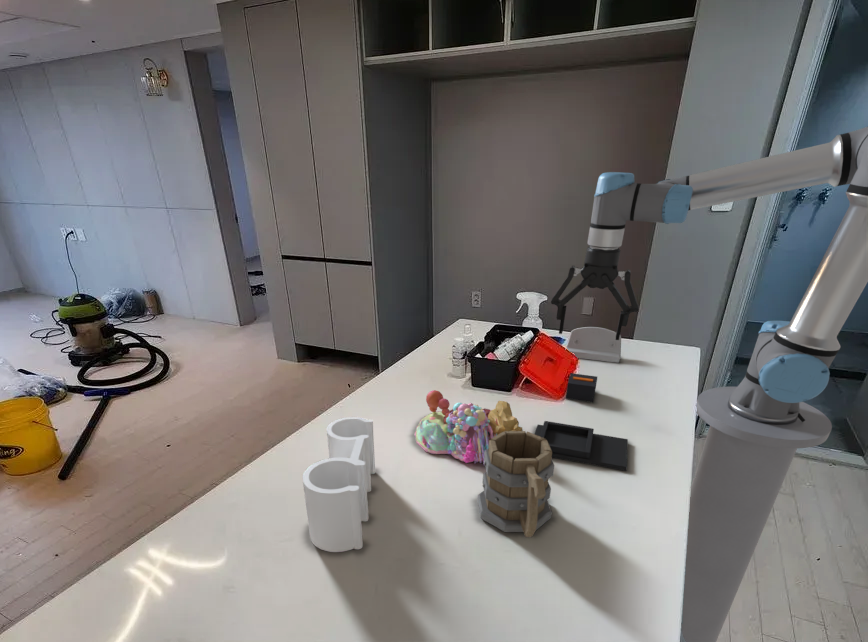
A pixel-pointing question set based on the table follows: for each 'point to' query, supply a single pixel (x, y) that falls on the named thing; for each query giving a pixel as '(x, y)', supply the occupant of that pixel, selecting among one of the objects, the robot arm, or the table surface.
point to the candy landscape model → (462, 428)
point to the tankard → (516, 482)
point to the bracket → (341, 486)
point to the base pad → (584, 445)
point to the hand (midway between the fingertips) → (588, 335)
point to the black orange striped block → (581, 387)
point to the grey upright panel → (595, 344)
